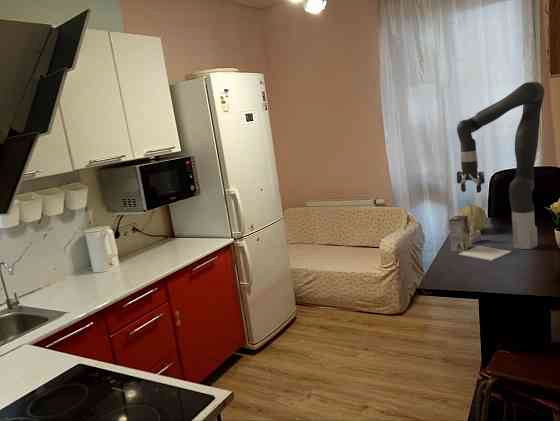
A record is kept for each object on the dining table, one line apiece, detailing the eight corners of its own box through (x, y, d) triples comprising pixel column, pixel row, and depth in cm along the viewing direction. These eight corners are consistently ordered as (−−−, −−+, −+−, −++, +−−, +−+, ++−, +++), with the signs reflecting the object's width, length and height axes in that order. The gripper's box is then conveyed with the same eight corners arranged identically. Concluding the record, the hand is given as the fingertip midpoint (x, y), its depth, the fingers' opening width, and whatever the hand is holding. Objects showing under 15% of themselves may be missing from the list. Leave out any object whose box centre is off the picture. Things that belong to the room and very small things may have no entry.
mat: (511, 252, 210) (511, 251, 210) (491, 260, 202) (491, 259, 202) (478, 246, 224) (478, 245, 224) (458, 254, 217) (458, 253, 217)
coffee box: (457, 246, 230) (455, 215, 227) (470, 246, 226) (468, 215, 223) (451, 251, 223) (448, 219, 221) (464, 252, 219) (462, 220, 216)
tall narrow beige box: (480, 240, 235) (479, 215, 232) (471, 243, 231) (469, 219, 228) (477, 239, 236) (475, 215, 234) (467, 243, 232) (465, 218, 230)
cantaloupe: (470, 236, 243) (468, 209, 240) (453, 231, 257) (451, 205, 254) (494, 231, 246) (492, 204, 244) (475, 226, 260) (474, 201, 258)
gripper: (486, 158, 222) (488, 191, 225) (461, 159, 234) (463, 190, 237) (477, 161, 218) (479, 194, 221) (452, 161, 230) (454, 192, 233)
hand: (471, 192), depth 229 cm, fingers open, 8 cm apart
